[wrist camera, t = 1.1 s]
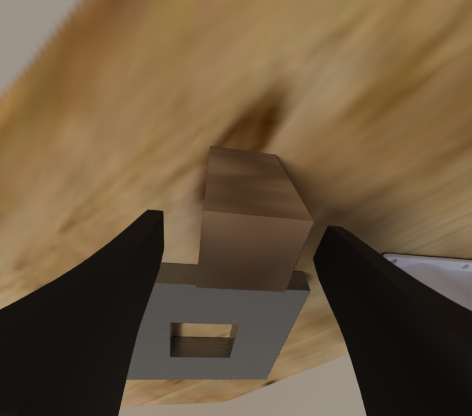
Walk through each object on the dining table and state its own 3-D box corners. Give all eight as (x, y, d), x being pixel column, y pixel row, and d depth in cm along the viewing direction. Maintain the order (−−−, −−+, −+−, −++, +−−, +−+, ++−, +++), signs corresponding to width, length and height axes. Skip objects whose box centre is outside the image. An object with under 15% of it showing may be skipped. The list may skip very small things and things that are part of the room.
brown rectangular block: (275, 154, 14) (313, 221, 8) (261, 208, 16) (284, 291, 10) (210, 146, 14) (203, 210, 8) (205, 203, 16) (196, 287, 10)
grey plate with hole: (302, 271, 20) (310, 290, 18) (263, 360, 29) (266, 379, 27) (109, 259, 18) (97, 279, 16) (128, 359, 26) (122, 379, 25)
